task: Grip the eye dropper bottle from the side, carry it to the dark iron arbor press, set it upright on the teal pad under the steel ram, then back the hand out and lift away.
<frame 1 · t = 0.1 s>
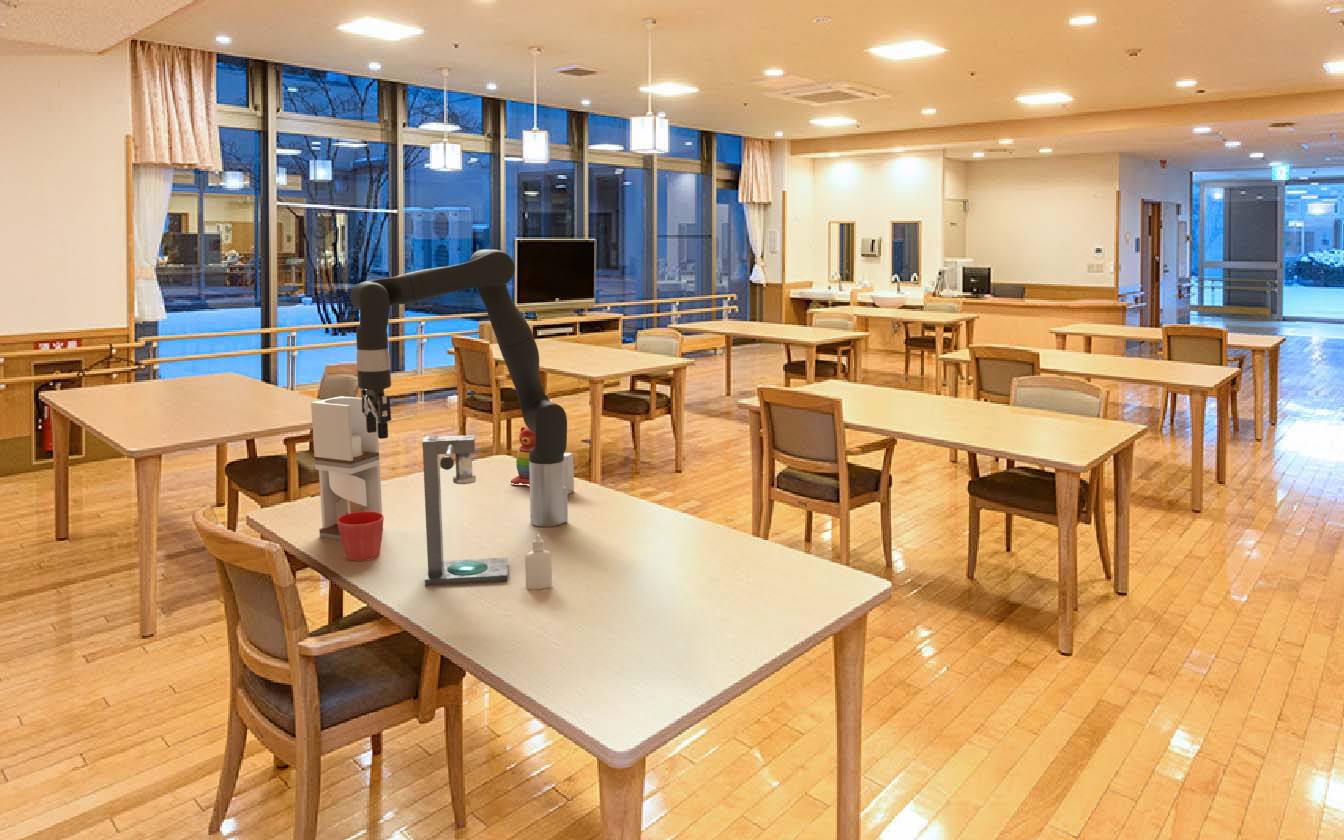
hand: (377, 435, 225), 29 cm above the table, tool pointing down, fingers open, 8 cm apart
flower pot: (362, 556, 228), on the table
eye dropper bottle: (539, 587, 209), on the table
skincare box: (562, 492, 286), on the table
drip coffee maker: (351, 534, 245), on the table
stacking bear: (531, 483, 297), on the table
arbor press: (467, 574, 216), on the table
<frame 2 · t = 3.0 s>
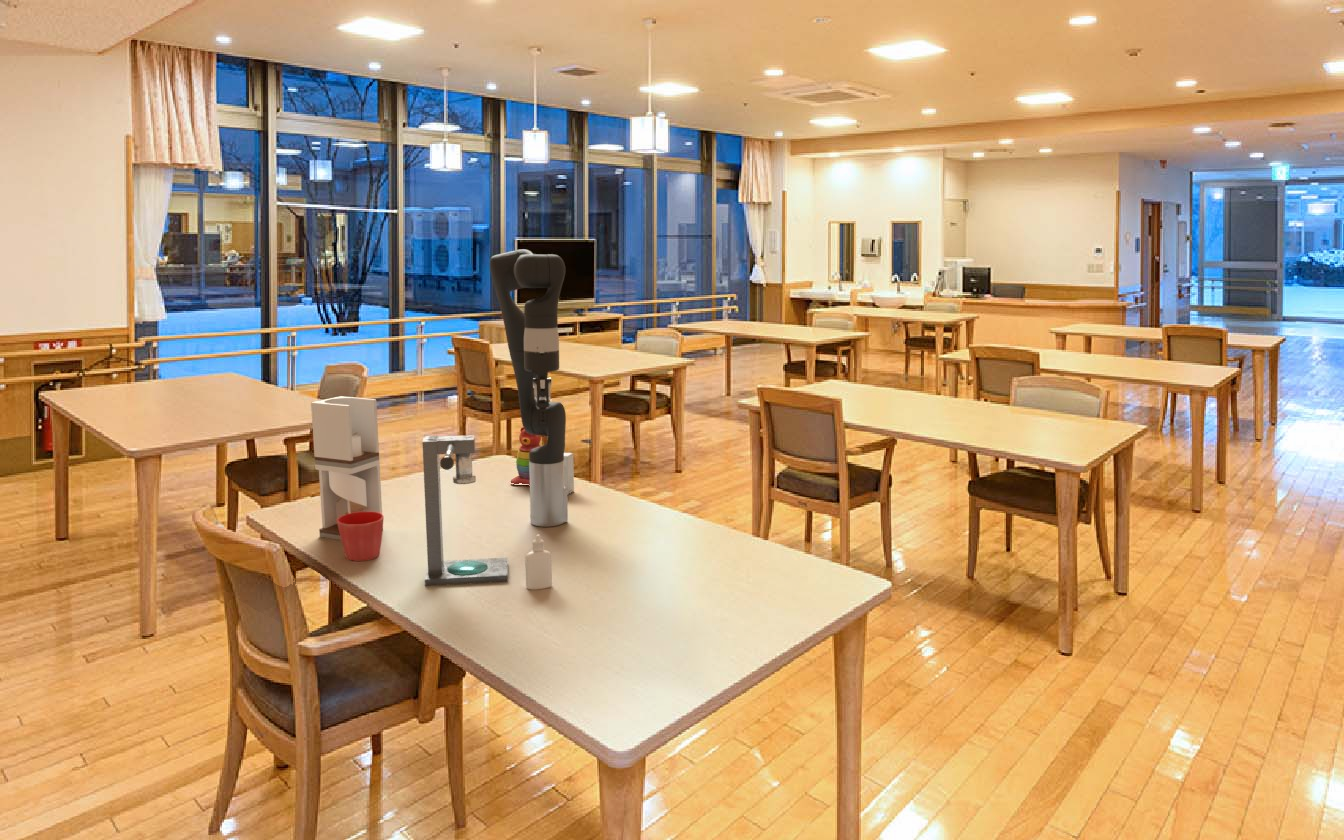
hand: (542, 422, 206), 36 cm above the table, tool pointing down, fingers open, 8 cm apart
nothing on the table moved.
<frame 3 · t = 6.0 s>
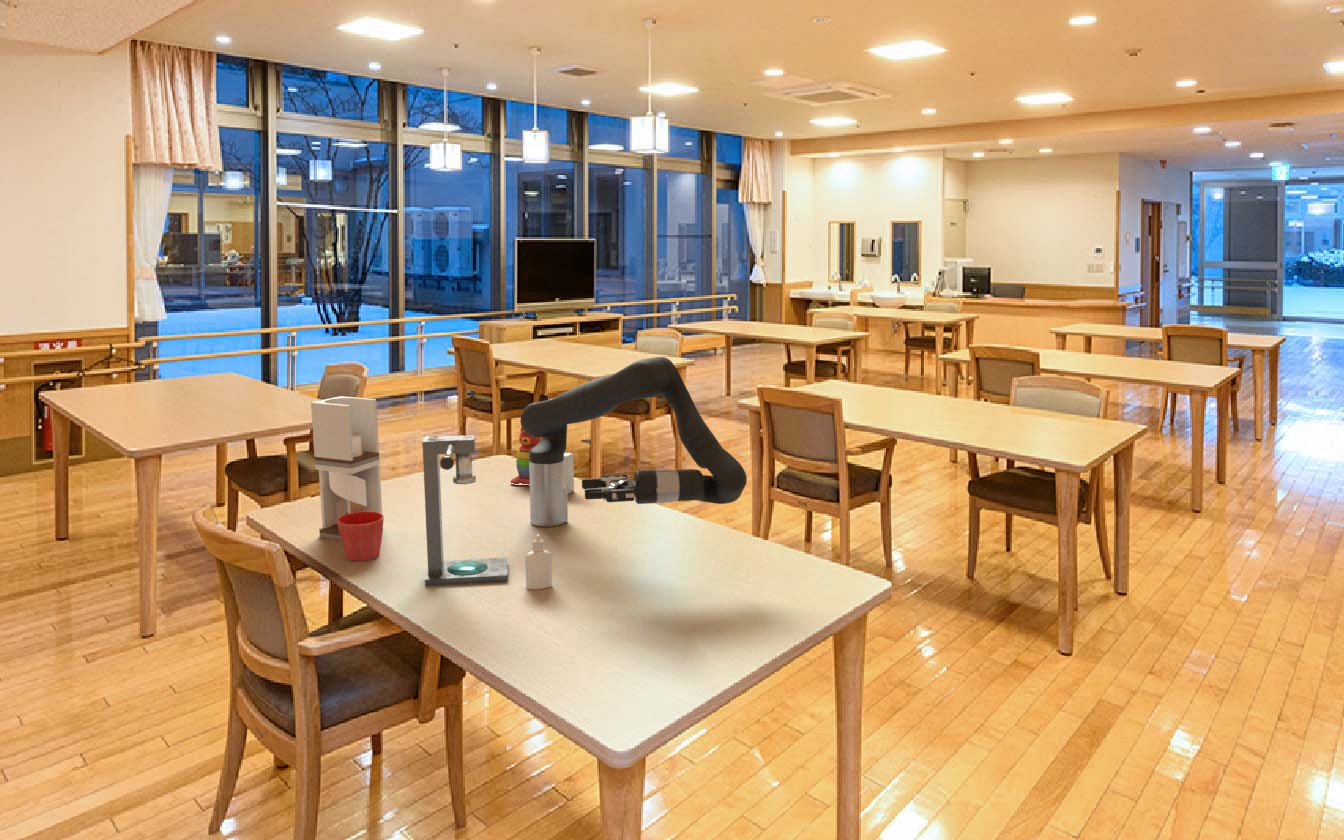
hand: (583, 489, 206), 22 cm above the table, tool horizontal, fingers open, 8 cm apart
nothing on the table moved.
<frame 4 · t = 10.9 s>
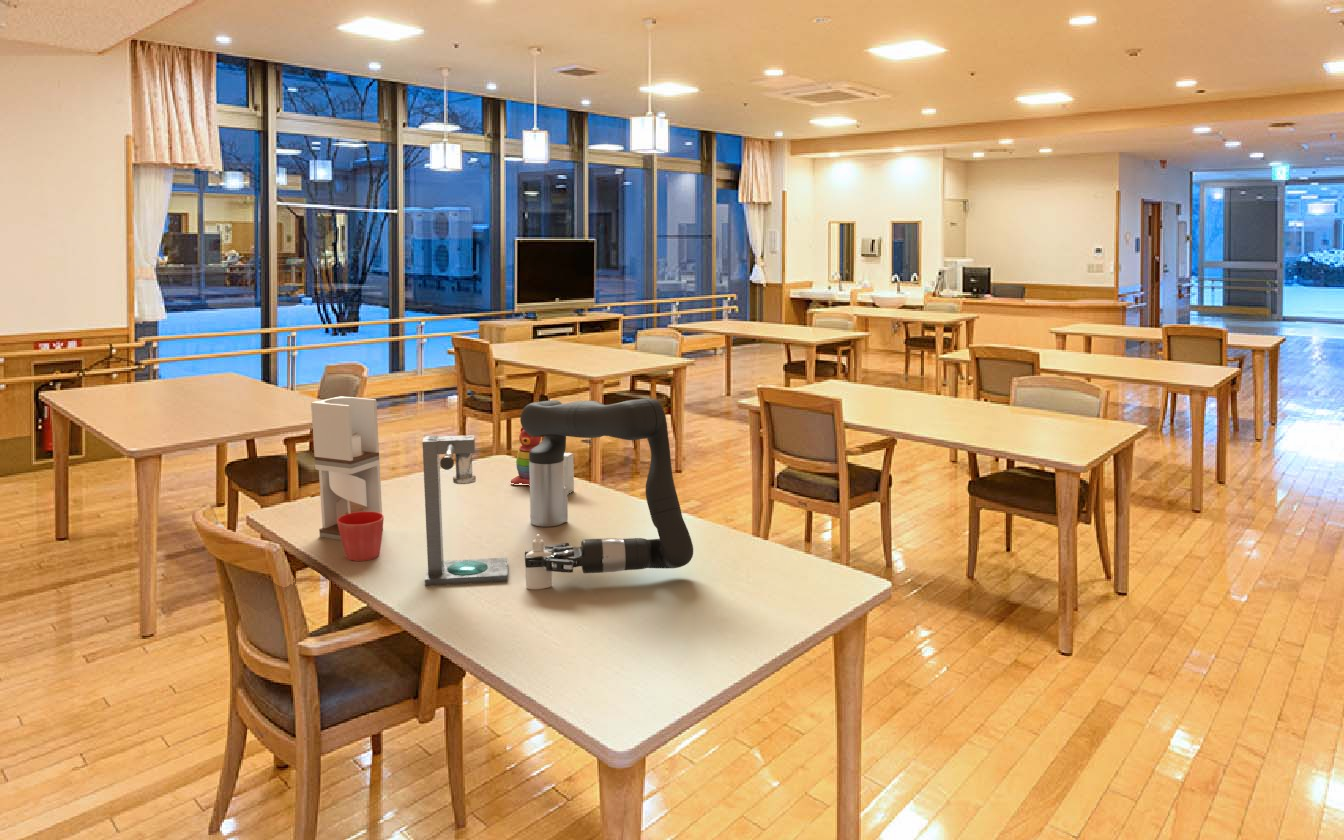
hand: (525, 559, 207), 7 cm above the table, tool horizontal, fingers closed on eye dropper bottle, 3 cm apart
eye dropper bottle: (539, 587, 209), on the table, touching gripper
everything else where it was.
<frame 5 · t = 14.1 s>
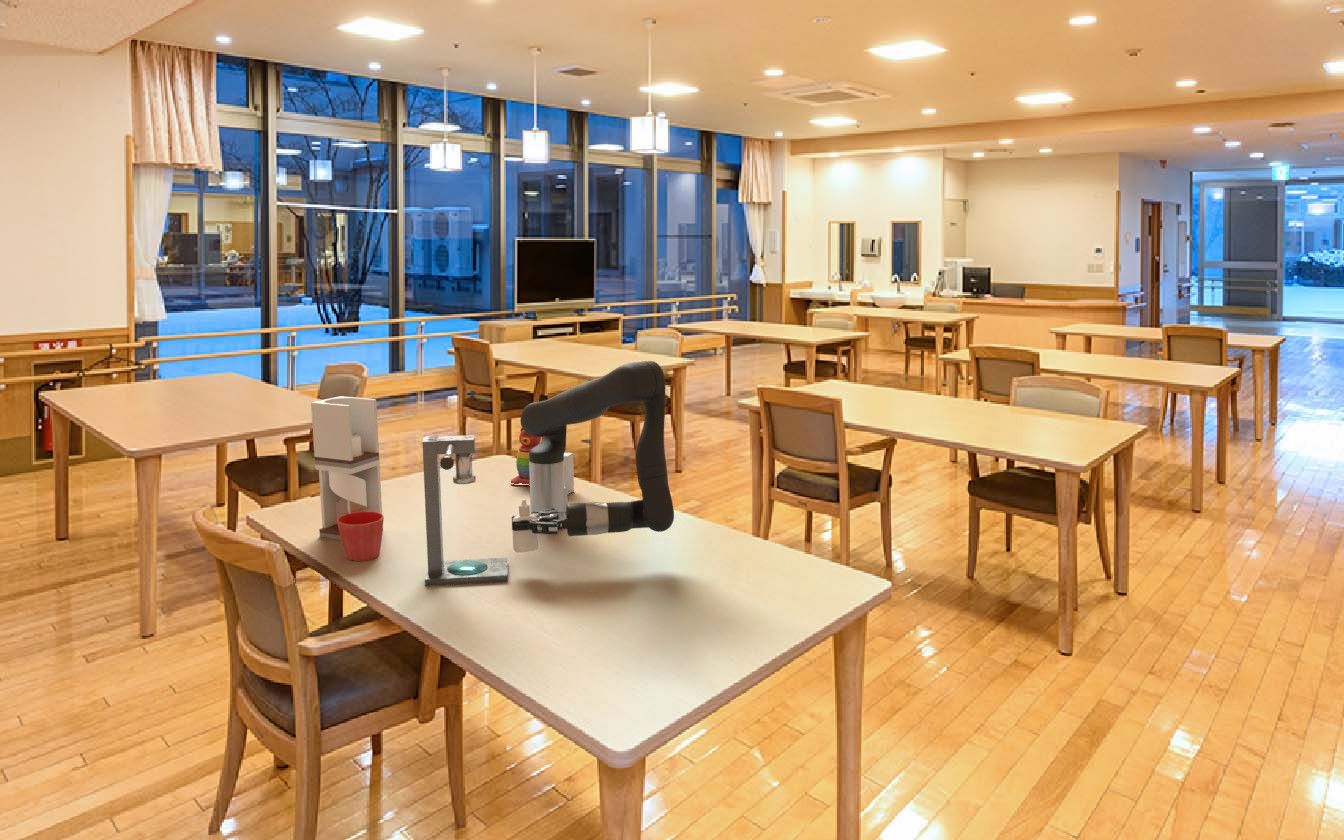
hand: (512, 523, 215), 12 cm above the table, tool horizontal, fingers closed on eye dropper bottle, 3 cm apart
eye dropper bottle: (525, 550, 217), point 5 cm above the table, touching gripper
everything else where it was.
when the fingers open (9 cm above the table, at t = 17.5 s): eye dropper bottle stays where it is, resting on arbor press.
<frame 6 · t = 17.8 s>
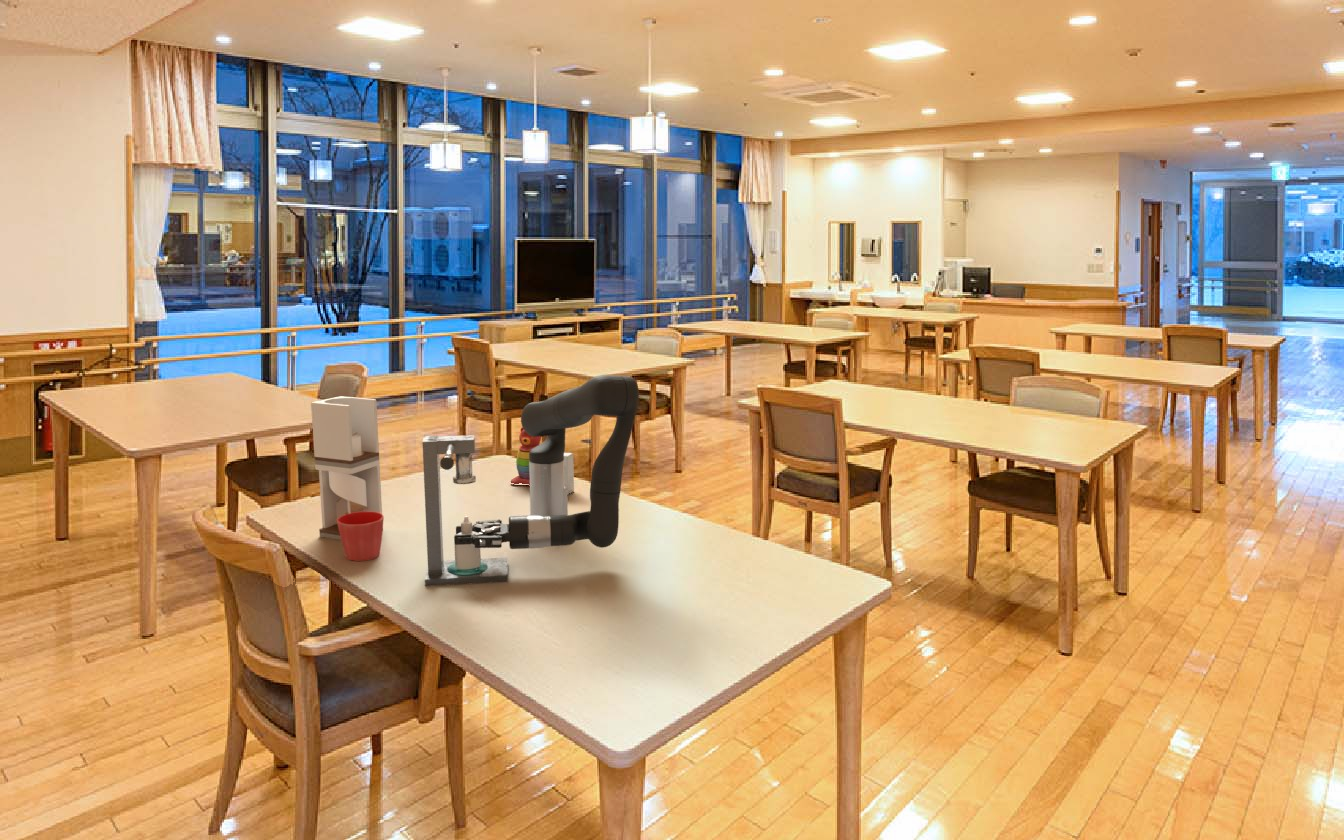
hand: (455, 535, 214), 9 cm above the table, tool horizontal, fingers open, 6 cm apart
eye dropper bottle: (468, 568, 216), point 2 cm above the table, touching arbor press
everything else where it was.
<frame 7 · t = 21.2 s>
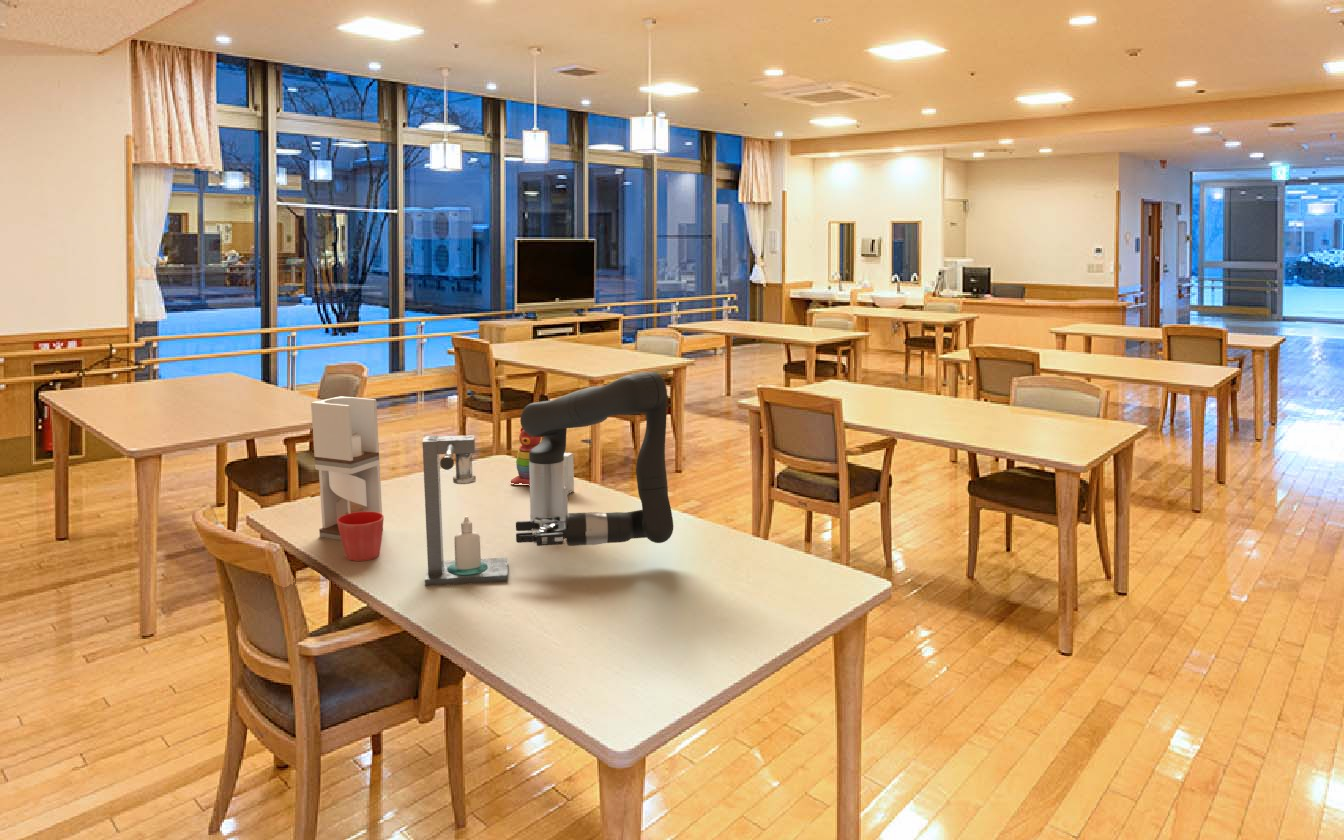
hand: (515, 531, 216), 10 cm above the table, tool horizontal, fingers open, 8 cm apart
nothing on the table moved.
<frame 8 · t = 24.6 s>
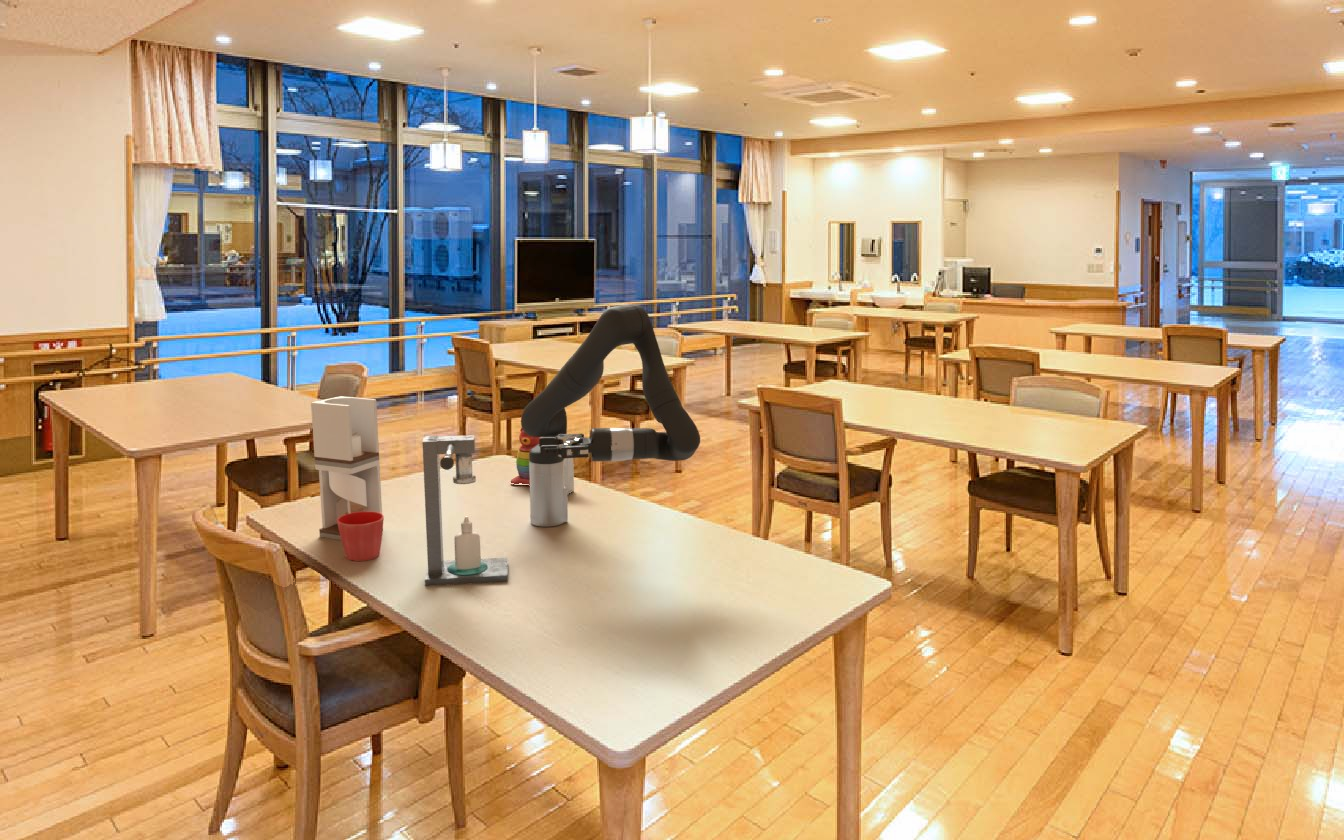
hand: (539, 446, 211), 30 cm above the table, tool horizontal, fingers open, 8 cm apart
nothing on the table moved.
at the end: eye dropper bottle inside the target area on the arbor press (0.2 cm from its centre), point 1.5 cm above the arbor press's base; eye dropper bottle tilted 0°; the gripper is holding nothing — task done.
